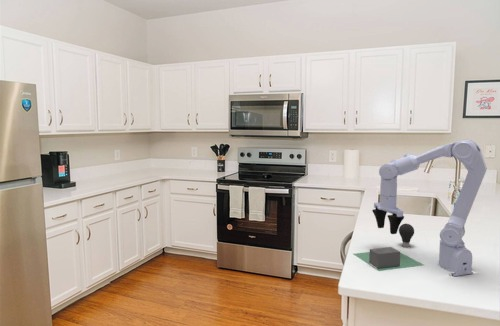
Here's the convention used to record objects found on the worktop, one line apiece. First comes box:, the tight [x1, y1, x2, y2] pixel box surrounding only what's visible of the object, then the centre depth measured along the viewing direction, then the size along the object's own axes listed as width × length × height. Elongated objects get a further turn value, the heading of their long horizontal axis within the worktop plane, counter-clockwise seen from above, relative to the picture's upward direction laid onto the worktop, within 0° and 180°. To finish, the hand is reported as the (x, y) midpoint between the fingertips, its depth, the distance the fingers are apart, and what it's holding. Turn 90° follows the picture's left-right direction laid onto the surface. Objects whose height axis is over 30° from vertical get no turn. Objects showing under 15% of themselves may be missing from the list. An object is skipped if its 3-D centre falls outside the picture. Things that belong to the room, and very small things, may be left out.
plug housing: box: [369, 246, 401, 269], centre depth 119 cm, size 5×9×5 cm, turn 105°
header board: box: [353, 251, 424, 272], centre depth 124 cm, size 16×18×4 cm
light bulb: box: [398, 223, 415, 248], centre depth 138 cm, size 6×6×10 cm
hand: (387, 230), depth 130 cm, fingers open, 7 cm apart
